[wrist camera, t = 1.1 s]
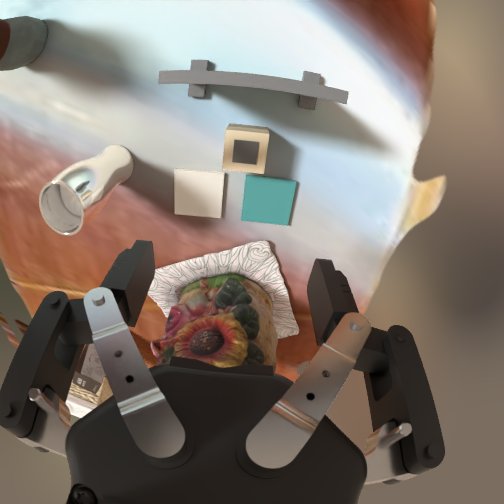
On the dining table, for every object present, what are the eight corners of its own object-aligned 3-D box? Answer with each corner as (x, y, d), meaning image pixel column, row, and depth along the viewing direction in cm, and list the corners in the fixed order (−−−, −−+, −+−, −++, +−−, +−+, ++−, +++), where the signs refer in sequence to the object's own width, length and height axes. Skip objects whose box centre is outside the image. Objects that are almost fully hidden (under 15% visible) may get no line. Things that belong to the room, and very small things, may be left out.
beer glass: (142, 149, 35) (88, 191, 23) (130, 191, 39) (83, 246, 26) (102, 136, 33) (38, 171, 21) (93, 177, 37) (37, 225, 25)
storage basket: (65, 377, 79) (54, 408, 67) (50, 354, 70) (35, 388, 58) (119, 394, 82) (110, 428, 70) (109, 374, 73) (96, 413, 60)
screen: (193, 60, 28) (161, 50, 17) (318, 74, 29) (352, 72, 18) (189, 95, 31) (157, 104, 20) (312, 109, 32) (342, 124, 21)
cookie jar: (301, 328, 56) (318, 478, 30) (196, 348, 61) (178, 481, 35) (268, 232, 43) (281, 454, 17) (137, 270, 48) (72, 436, 21)
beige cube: (229, 123, 33) (225, 129, 29) (267, 127, 34) (269, 134, 29) (225, 159, 36) (221, 171, 32) (262, 163, 37) (263, 175, 32)
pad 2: (246, 174, 37) (246, 175, 37) (296, 180, 38) (296, 182, 37) (241, 218, 41) (240, 220, 41) (287, 223, 42) (287, 225, 41)
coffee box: (99, 313, 55) (74, 370, 42) (123, 325, 57) (102, 384, 44) (93, 331, 59) (71, 383, 46) (115, 342, 61) (96, 395, 48)
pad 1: (175, 168, 37) (174, 170, 36) (224, 172, 37) (224, 173, 37) (175, 212, 41) (174, 214, 40) (221, 216, 41) (220, 218, 41)
